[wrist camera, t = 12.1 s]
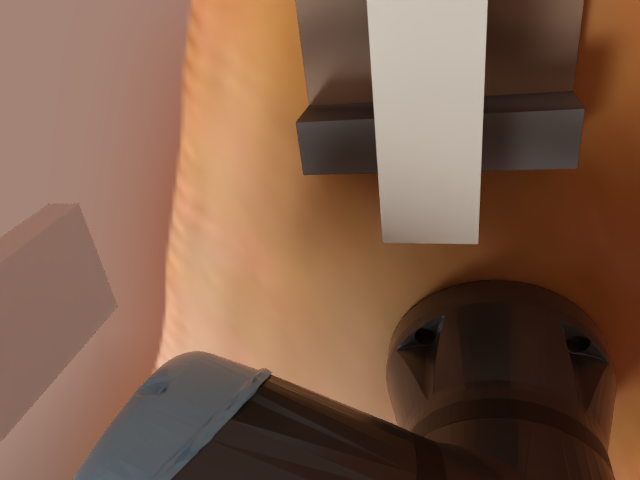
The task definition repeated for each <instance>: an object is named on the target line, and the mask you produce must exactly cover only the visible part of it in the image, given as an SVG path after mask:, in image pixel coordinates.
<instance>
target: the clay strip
mask: <svg viewBox="0 0 640 480" xmlns="http://www.w3.org/2000/svg"><path fill="white" fill-rule="evenodd" d="M487 6H488V0H367V13H368V28H369V44H370V59H371V74H372V90H373V105H374V120H375V136H376V151H377V166H378V182H379V197H380V212H381V228H382V243H424V244H478V236H479V210H480V185H481V159H482V134H483V108H484V82H485V57H486V31H487Z"/></svg>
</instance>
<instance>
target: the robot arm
mask: <svg viewBox="0 0 640 480" xmlns="http://www.w3.org/2000/svg"><path fill="white" fill-rule="evenodd" d="M117 307H118V305H117V303H116V300H115V298H114V295H113V293H112V290H111V287H110V284H109V282H108V279H107V277H106V274H105V271H104V269H103V266H102V263H101V261H100V258H99V255H98V253H97V250H96V248H95V245H94V243H93V240H92V237H91V234H90V232H89V229H88V226H87V224H86V221H85V219H84V216H83V213H82V211H81V208H80V205H79V203H78V204H76V203H75V204H48V205H46V206H45V207H43V208H42V209H40V210H39V211H38V212H36V213H35V214H33V215H32V216H30V217H29V218H28V219H26V220H25V221H23V222H22V223H21V224H19V225H18V226H16V227H15V228H13V229H12V230H11V231H9V232H8V233H6V234H5V235H4V236H2V237H1V238H0V442H1V441H2V440H3V439H4V438H5V437H6V435H7V434H8V433H9V432H10V431H11V430H12V428H13V427H14V426H15V425H16V424H17V422H19V420H20V419H21V418H22V417H23V416H24V415H25V414H26V412H27V411H28V410H29V409H30V407H32V405H33V404H34V403H35V402H36V401H37V400H38V398H39V397H40V396H41V395H42V394H43V393H44V392H45V390H46V389H47V388H48V387H49V386H50V385H51V383H52V382H53V381H54V380H55V379H56V378H57V376H58V375H59V374H60V373H61V372H62V371H63V370H64V368H65V367H66V366H67V365H68V364H69V363H70V361H71V360H72V359H73V358H74V357H75V356H76V354H77V353H78V352H79V351H80V350H81V349H82V348H83V346H84V345H85V344H86V343H87V342H88V341H89V340H90V338H91V337H92V336H93V335H94V334H95V333H96V331H97V330H98V329H99V328H100V327H101V326H102V325H103V323H104V322H105V321H106V320H107V319H108V317H109V316H110V315H111V314H112V313H113V312H114V311H115V309H116V308H117ZM271 373H272V372H271V371H269V370H267V369H260V370H257V369H254V368H251V367H248V366H245V365H242V364H239V363H237V362H234V361H231V360H228V359H225V358H222V357H219V356H216V355H214V354H211V353H206V352H200V351H194V352H188V353H184V354H181V355H178V356H176V357H174V358H173V359H171V360H169V361H168V362H166V363H165V364H163V365H162V366H161V367H160V368H159V369H157V370H156V371H155V372H154V373H153V374H152V375H151V376H150V377H149V378H148V379H147V380H146V381H145V382H144V383H143V384H142V385H141V386H140V387H139V388H138V390H137V391H136V392H135V393H134V395H133V396H132V397H131V398H130V399H129V401H128V402H127V403H126V404H125V405H124V406H123V408H122V409H121V410H120V412H119V413H118V414H117V416H116V417H115V418H114V419H113V421H112V422H111V423H110V425H109V426H108V427H107V429H106V430H105V431H104V433H103V434H102V436H101V437H100V438H99V440H98V441H97V443H96V444H95V446H94V447H93V448H92V450H91V451H90V453H89V454H88V456H87V457H86V459H85V460H84V462H83V463H82V465H81V466H80V468H79V469H78V471H77V473H76V474H75V476H74V477H73V479H72V480H615V478H614V475H613V471H612V467H611V464H610V460H609V456H608V446H609V439H610V432H611V424H612V417H613V410H614V402H615V395H616V375H615V369H614V365H613V362H612V359H611V356H610V353H609V350H608V348H607V345H606V342H605V340H604V337H603V335H602V333H601V331H600V330H599V328H598V327H597V325H596V324H595V323H594V322H593V320H592V319H591V318H590V317H589V316H588V315H587V314H586V313H585V312H584V311H583V310H581V309H580V308H579V307H578V306H576V305H575V304H574V303H572V302H570V301H569V300H567V299H565V298H564V297H562V296H560V295H558V294H556V293H553V292H551V291H548V290H546V289H543V288H540V287H536V286H533V285H529V284H524V283H518V282H510V281H479V282H471V283H465V284H461V285H457V286H453V287H450V288H447V289H444V290H442V291H439V292H437V293H435V294H433V295H431V296H429V297H427V298H426V299H424V300H423V301H421V302H419V303H418V304H417V305H416V306H414V307H413V308H412V309H411V310H410V311H409V312H408V313H407V314H406V315H405V316H404V317H403V319H402V320H401V321H400V323H399V324H398V326H397V327H396V329H395V331H394V333H393V336H392V339H391V342H390V347H389V354H388V360H387V368H386V379H387V387H388V392H389V396H390V399H391V403H392V406H393V410H394V413H395V417H396V421H397V424H398V426H397V425H394V424H392V423H389V422H387V421H384V420H382V419H379V418H377V417H374V416H372V415H369V414H367V413H365V412H362V411H360V410H357V409H355V408H352V407H350V406H347V405H345V404H342V403H340V402H337V401H335V400H332V399H330V398H328V397H325V396H323V395H320V394H318V393H315V392H313V391H310V390H308V389H305V388H303V387H300V386H298V385H295V384H293V383H290V382H288V381H286V380H283V379H281V378H278V377H276V376H273V375H271Z"/></svg>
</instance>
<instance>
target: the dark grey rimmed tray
mask: <svg viewBox="0 0 640 480" xmlns="http://www.w3.org/2000/svg"><path fill="white" fill-rule="evenodd" d="M295 2H296V10H297V17H298V25H299V33H300V40H301V48H302V56H303V64H304V71H305V79H306V87H307V95H308V102H309V106H308V108H307V109H306V110H305V111H304V113H303V114H302V115H301V117H300V118H299V119H298V121H297V122H296V127H297V134H298V141H299V148H300V155H301V162H302V169H303V175H324V174H368V173H378V166H377V151H376V136H375V120H374V105H373V90H372V74H371V59H370V44H369V28H368V13H367V0H295ZM583 4H584V0H488V6H487V31H486V57H485V82H484V108H483V134H482V159H481V171H501V170H545V169H577V166H578V158H579V151H580V143H581V136H582V128H583V120H584V113H585V108H584V107H583V105H582V104H581V102H580V101H579V99H578V98H577V96H576V95H575V93H574V92H573V88H574V80H575V71H576V63H577V55H578V46H579V38H580V29H581V21H582V13H583Z"/></svg>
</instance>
